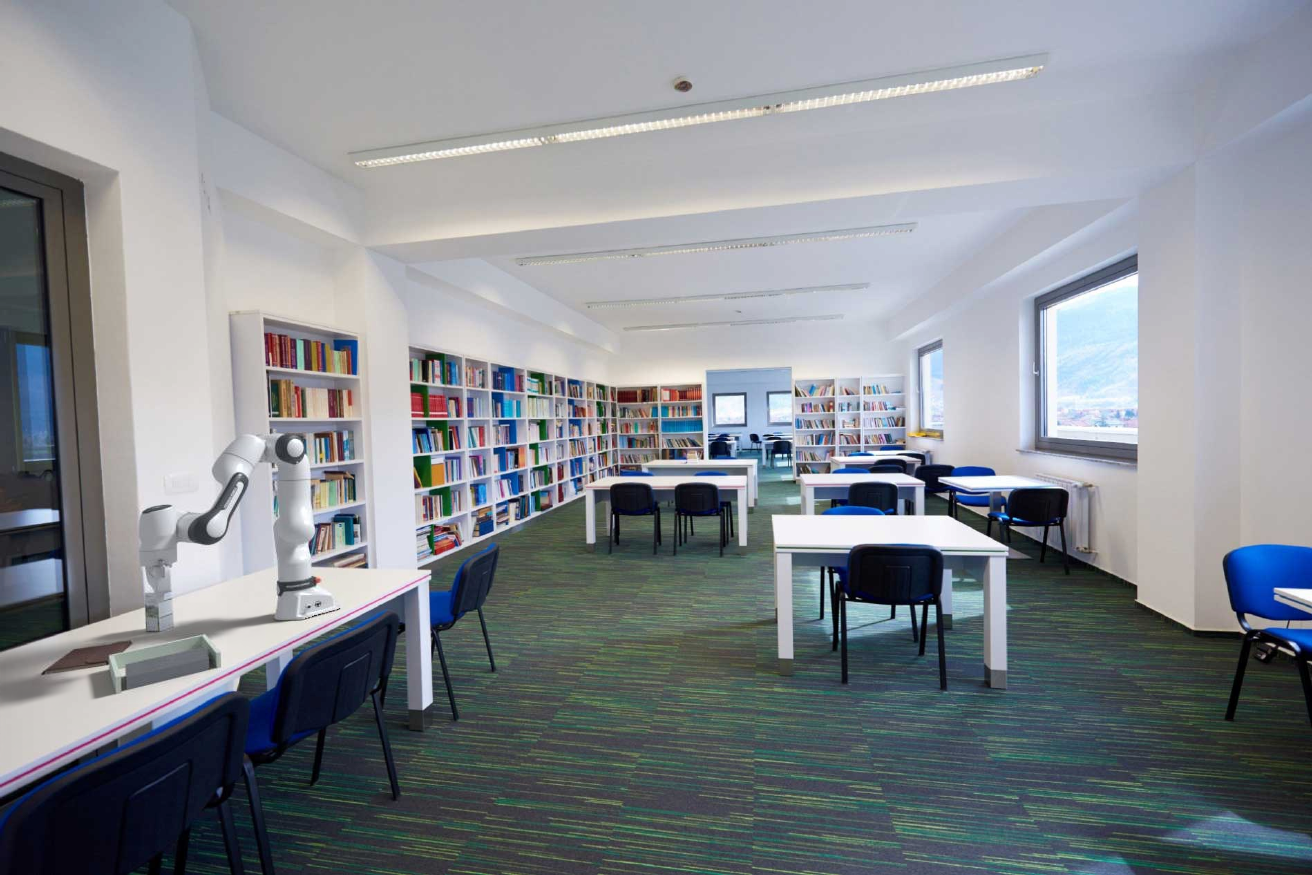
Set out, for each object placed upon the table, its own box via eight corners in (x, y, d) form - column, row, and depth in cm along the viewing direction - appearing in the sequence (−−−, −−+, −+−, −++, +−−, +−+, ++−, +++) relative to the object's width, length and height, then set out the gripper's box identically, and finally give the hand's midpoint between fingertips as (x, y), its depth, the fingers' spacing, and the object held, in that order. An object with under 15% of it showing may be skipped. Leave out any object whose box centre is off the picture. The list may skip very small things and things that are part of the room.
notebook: (41, 676, 168) (41, 670, 168) (72, 654, 186) (72, 648, 186) (108, 666, 175) (108, 659, 175) (132, 645, 192) (132, 639, 192)
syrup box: (174, 626, 210) (173, 587, 210) (159, 632, 204) (157, 592, 204) (160, 626, 210) (159, 587, 210) (144, 631, 204) (143, 592, 204)
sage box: (205, 647, 187) (205, 634, 187) (220, 666, 171) (220, 651, 171) (109, 670, 171) (108, 655, 170) (116, 693, 154) (115, 677, 154)
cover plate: (203, 659, 178) (203, 647, 178) (209, 671, 169) (208, 658, 169) (125, 677, 166) (125, 664, 166) (126, 691, 157) (126, 677, 157)
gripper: (177, 560, 171) (178, 606, 171) (167, 552, 185) (168, 594, 185) (149, 564, 166) (150, 611, 166) (141, 555, 180) (142, 598, 180)
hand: (159, 602), depth 176 cm, fingers closed
